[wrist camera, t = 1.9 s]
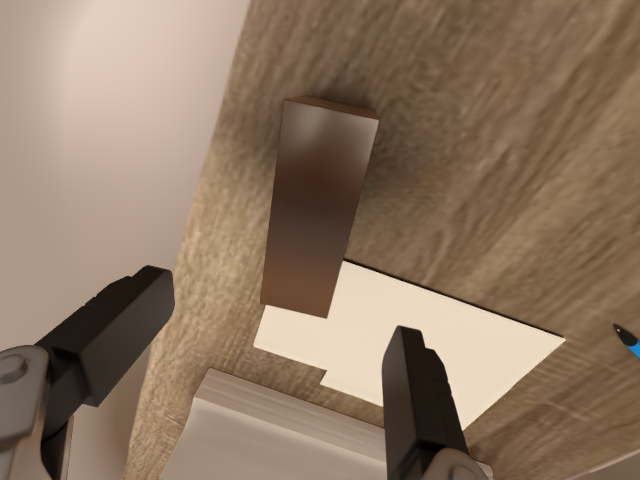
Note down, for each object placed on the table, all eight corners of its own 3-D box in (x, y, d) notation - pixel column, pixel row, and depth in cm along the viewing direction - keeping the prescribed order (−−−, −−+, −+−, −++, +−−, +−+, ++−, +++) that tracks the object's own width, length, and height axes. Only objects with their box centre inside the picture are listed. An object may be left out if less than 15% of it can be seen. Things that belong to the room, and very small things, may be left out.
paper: (574, 328, 24) (583, 338, 23) (466, 433, 32) (469, 444, 31) (279, 236, 23) (275, 243, 23) (248, 367, 32) (244, 376, 31)
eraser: (306, 95, 18) (283, 98, 13) (375, 110, 18) (380, 119, 13) (282, 256, 24) (259, 303, 19) (334, 268, 24) (327, 319, 19)
